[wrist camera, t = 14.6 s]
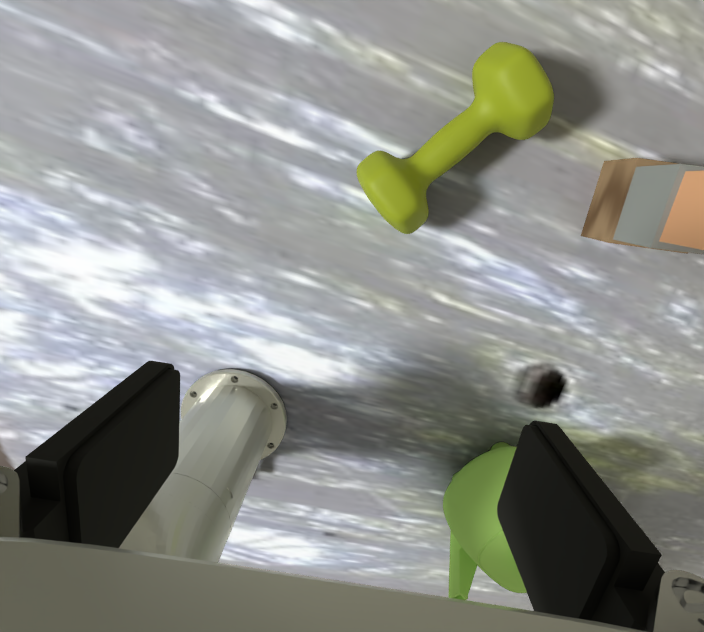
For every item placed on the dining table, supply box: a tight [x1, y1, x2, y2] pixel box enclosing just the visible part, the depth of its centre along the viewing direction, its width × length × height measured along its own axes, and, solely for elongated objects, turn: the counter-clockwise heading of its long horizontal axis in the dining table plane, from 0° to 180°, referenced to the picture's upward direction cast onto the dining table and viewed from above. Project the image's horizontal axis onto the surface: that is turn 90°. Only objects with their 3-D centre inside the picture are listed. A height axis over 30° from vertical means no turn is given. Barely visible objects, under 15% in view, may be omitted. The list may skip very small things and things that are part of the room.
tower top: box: [613, 164, 704, 254], centre depth 31 cm, size 6×6×5 cm
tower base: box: [581, 158, 688, 254], centre depth 36 cm, size 7×7×5 cm
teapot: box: [443, 442, 527, 600], centre depth 43 cm, size 20×13×13 cm
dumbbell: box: [357, 42, 554, 234], centre depth 34 cm, size 16×8×7 cm, turn 129°
